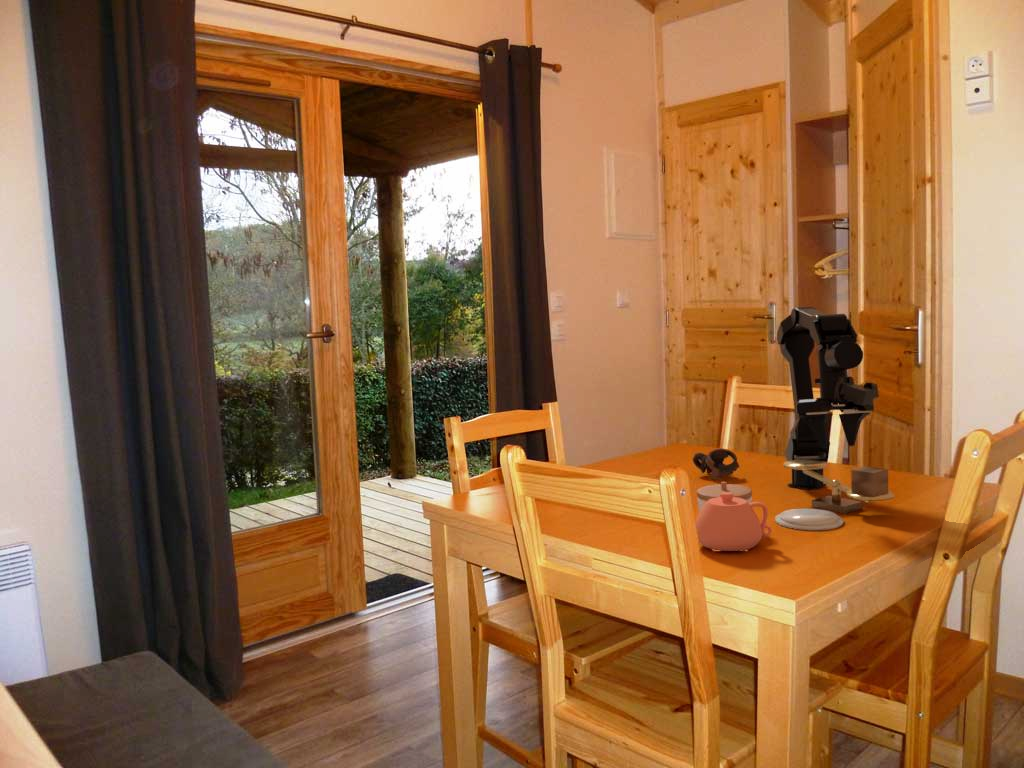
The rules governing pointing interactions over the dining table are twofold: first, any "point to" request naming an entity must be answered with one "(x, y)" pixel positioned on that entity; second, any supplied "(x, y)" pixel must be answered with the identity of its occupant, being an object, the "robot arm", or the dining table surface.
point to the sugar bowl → (730, 523)
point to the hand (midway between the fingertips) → (838, 446)
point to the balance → (833, 489)
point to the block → (869, 481)
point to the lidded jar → (715, 490)
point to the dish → (809, 519)
